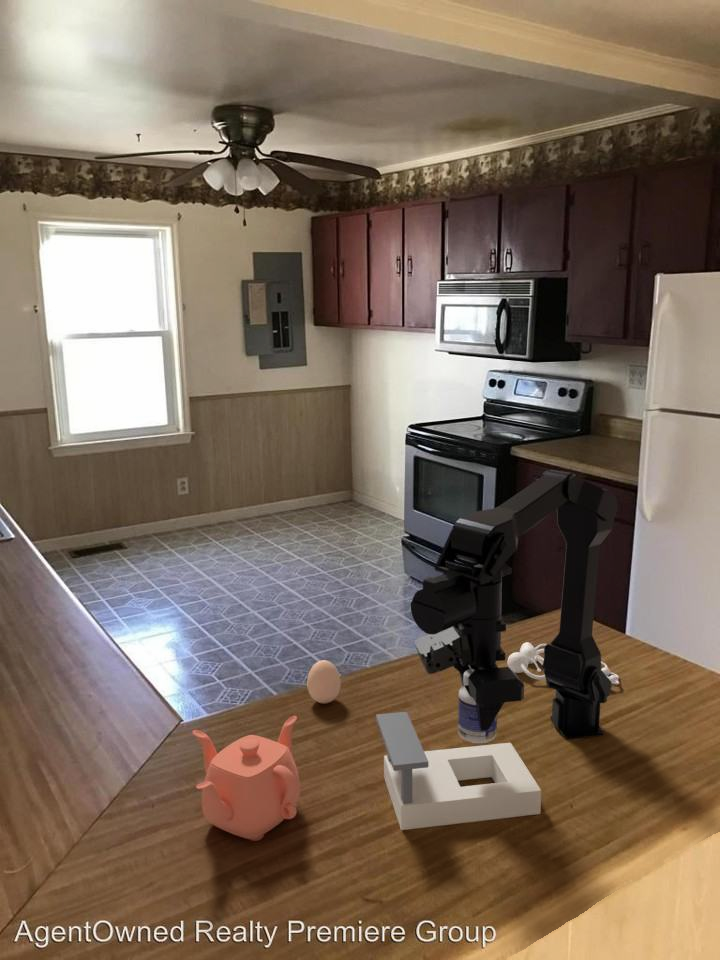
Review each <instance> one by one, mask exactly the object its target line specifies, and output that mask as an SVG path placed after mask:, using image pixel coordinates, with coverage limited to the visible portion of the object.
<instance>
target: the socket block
mask: <svg viewBox="0 0 720 960" xmlns="http://www.w3.org/2000/svg"><path fill="white" fill-rule="evenodd" d="M375 721H376V723H377V727H378V729H379V732H380V735H381V738H382V741H383V743H384V747H385V750H386V754H385V755H383V778H384V781H385V784H386V788H387V791H388V793H389V796H390V797H389V798H390V800H391V803H392V806H393V809H394V810H393V811H394V812H395V815H396V818H397V821H398V822H397V823H398V824H399V828H400V831H404V830H415V829H423V828H431V827H438V826H448V825H456V824H457V825H458V824H465V823H466V824H467V823H474V822H481V821H489V820H490V821H491V820H500V819H509V818H515V817H516V818H517V817H524V816H533V815H541V809H542V807H541V806H542V805H541V803H542V789H541V788H540V787H539V784H538V783H537V782H536V780H535V778H534V777H533V775H532V774H531V772H530V771H529V769H528V767H527V766H526V764H525V763H524V761H523V760H522V758H521V756H520V755H519V754H518V752H517V750H516V748H515V747H514V746H513V744H512V743H511V742H505V743H504V742H503V743H501V742H500V743H495V744H494V743H492V744H484V745H483V744H481V745H474V746H465V747H456V748H455V747H454V748H444V749H436V750H434V749H433V750H426V751H425V750H424V748H423V746H422V743H421V741H420V739H419V737H418V734H417V732H416V730H415V728H414V725H413V722H412V720H411V718H410V715H409V714H408V711H399V712H388V713H387V712H386V713H377V714H375ZM485 778H492V780H493V782H494V783H492V782H491V783H484V784H475V785H473V784H472V785H465V786H461V785H460V783H459V782H460V781H466V780H467V781H468V780H475V779H477V780H478V779H485Z"/></svg>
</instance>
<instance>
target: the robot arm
mask: <svg viewBox="0 0 720 960" xmlns="http://www.w3.org/2000/svg"><path fill="white" fill-rule="evenodd" d="M555 511H556V516H557V521H556V523H557V526H558V529H559V530H560V532H561V534H562V537H563V539H564V540H565V545H566V546H565V558H564V568H563V583H562V593H561V603H560V604H561V605H560V615H559V616H560V618H559V628H558V633H557V635H556V636H555V637H554V639H552V641H551V642H550V643H546V644H547V645H546V646H544V648H543V649H544V653H543V654H544V655H543V658H544V662H542V663H543V666H542V667H541V668H542V669H543V675H545V677H546V679H545V680H546V685H547V688H548V689H552V690H555V697H554V698H552V708H551V709H552V710H551V711H552V712H551V715H550V721H551V722H552V723H553V725H554V726H555V728H556V729H557V730H558V731H559V732H560V733H561V735H562V737H564V738H565V739H576V738H578V739H579V738H586V737H587V738H588V737H595V736H596V737H597V736H604V735H605V734H604V733H605V731H604V729H602V727H601V726H600V719H601V717H600V716H601V715H600V714H601V704H605V703H607V701H608V698H609V696H610V694H611V692H612V691H611V690H612V685H613V684H612V682H611V681H610V680H609V679H608V677H609V676H608V677H607V676H606V675H605V674H604V673H603V671H602V670H601V669H602V664H601V662H602V654H601V651H600V649H599V647H598V645H597V642H596V641H595V639H594V637H593V627H594V616H595V605H596V593H597V592H596V591H597V581H598V571H599V562H600V561H599V560H600V549H601V545H602V543H603V542H604V540H605V539H606V538H607V537H608V535H609V534H610V533H611V532H612V530H613V527H614V522H615V518H616V516H617V513H618V501H617V498H616V496H614V495H613V493H612V491H611V490H610V489H606V488H601V487H599V486H597V485H594V484H593V483H590V482H589V481H586V480H584V479H583V478H582V477H581V476H580V475H577V474H575V473H574V472H569V471H562V470H557V469H549V470H545V471H543V472H542V473H541V475H540V477H539V478H537V479H536V480H534V481H533V482H532V483H531V484H529V485H528V486H526V487H524V488H523V489H522V490H520V491H518V492H517V493H516V494H515V495H512V497H510V498H508V499H507V500H506V501H504V502H503V503H501V504H500V505H498V506H496V507H494V508H492V509H483V510H477V511H473V512H471V513H469V514H467V515H464V516H462V517H460V518H459V519H457V520H456V521H455V523H454V524H453V526H452V529H451V530H450V533H449V535H448V537H447V538H446V541H445V543H444V546H443V548H442V550H441V552H440V555H439V556H438V559H437V562H436V563H435V564H434V565H435V566H434V571H435V572H439V573H442V574H440V575H436V576H435V577H432V576H431V577H428V578H425V579H423V580H422V589H419V590H417V591H416V592H415V593H414V595H413V597H412V600H411V601H410V613H411V616H412V618H413V621H414V623H415V624H416V626H417V627H418V628H419V629H420V630H421V631H422V632H424V633H425V634H426V635H425V634H424V635H423V636H420V637H419V638H417V639H416V640H415V641H414V642H413V645H414V646H415V649H416V652H417V654H418V655H419V656H418V657H419V659H420V661H421V663H422V666H423V667H424V669H425V671H426V673H427V674H430V675H433V674H436V673H439V672H442V671H445V670H447V669H450V668H452V667H453V668H454V669H456V671H458V673H459V677H460V680H461V684H462V686H464V683H463V677H464V672H465V671H466V670H469V669H471V670H472V671H473V673H472V674H471V675H470V676H469V677H468V685H466V686H465V688H466V690H467V691H468V693H469V695H470V696H471V697H472V698H473V699H474V700H475V702H476V707H477V713H478V720H479V725H480V729H481V730H488V729H489V728H490V726H491V725H492V723H493V721H494V719H495V718H496V716H497V717H498V714H499V712H500V710H501V709H502V707H503V706H504V705H505V703H511V702H512V703H513V702H522V701H523V700H524V699H525V684H524V683H523V681H522V680H521V679H520V677H519V676H518V675H517V673H515V672H513V671H512V670H511V669H510V668H509V667H508V666H503V667H498V665H497V662H500V661H506V652H505V651H504V649H503V648H502V646H501V643H502V641H501V640H502V632H507V623H505V621H504V620H503V618H502V598H503V597H502V594H503V593H502V589H503V588H502V587H503V577H506V576H507V575H510V574H512V572H513V571H512V568H511V567H510V566H508V565H507V564H506V561H508V559H509V558H510V557H511V556H512V555H513V554H514V553H515V552H516V551H517V549H518V544H519V539H520V538H521V537H522V535H523V534H525V533H527V531H529V530H531V529H532V528H533V527H534V526H536V525H537V524H538V523H540V522H541V521H543V520H544V519H545V518H547V517H548V516H549V515H550V514H553V512H555ZM456 559H460V560H462V561H466V562H469V563H474V564H476V565H470V564H467V563H463V562H461V561H456ZM462 686H461V687H462Z"/></svg>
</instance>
